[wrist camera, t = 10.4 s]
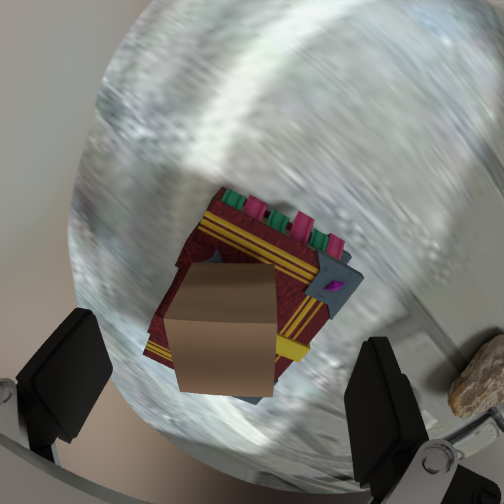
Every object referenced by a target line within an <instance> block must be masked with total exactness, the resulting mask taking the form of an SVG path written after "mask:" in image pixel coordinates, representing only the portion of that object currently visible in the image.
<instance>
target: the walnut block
mask: <svg viewBox="0 0 504 504" xmlns="http://www.w3.org/2000/svg"><path fill="white" fill-rule="evenodd" d="M163 320H164V325H165V330H166V335H167V339H168V344H169V348H170V353H171V357H172V361H173V365H174V370H175V374H176V378H177V382H178V385H179V389H180V392H189V393H199V394H210V395H223V396H242V397H273V388H274V373H275V357H276V340H277V304H276V283H275V264H247V263H192V265H191V267H190V268H189V270H188V272H187V274H186V276H185V278H184V280H183V282H182V284H181V285H180V287H179V289H178V291H177V293H176V295H175V297H174V299H173V301H172V303H171V305H170V307H169V309H168V310H167V312H166V314H165V316H164V318H163Z"/></svg>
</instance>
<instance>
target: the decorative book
mask: <svg viewBox="0 0 504 504" xmlns="http://www.w3.org/2000/svg"><path fill="white" fill-rule="evenodd" d="M266 208H267V203H265V202H263V201H261V200H259V199H258V198H256V197H254V196H252V195H250V196H249V199H248V200H247V199H246V197H244V196H242V195H240V194H238V193H236V192H234V191H232V190H230V189H225V188H224V187H221V189H220V190H219V191H218V192H217V193H216V194H215V196H214V197H213V198H212V200H211V202H210V204H209V206H208V208H207V210H206V212H205V214H204V216H203V218H202V220H201V221H200V222H199V224H198V225H197V226H196V228H195V229H194V230H193V232H192V233H191V234H190V236H189V237H188V239H187V240H186V242H185V244H184V247H183V249H182V251H181V253H180V255H179V258H178V260H177V262H176V264H175V266H176V267H178V268H179V269H178V271H177V274H176V276H175V278H174V280H173V283H172V285H171V286H170V288H169V290H168V291H167V293H166V295H165V297H164V298H163V300H162V302H161V303H160V305H159V307H158V309H157V310H156V312H155V314H154V316H153V319H152V321H151V324H150V326H149V329H148V331H147V333H149V334H150V337H149V339H148V342H147V344H146V347H145V349H144V352H143V355H145V356H147V357H149V358H151V359H153V360H155V361H157V362H159V363H161V364H163V365H165V366H167V367H169V368H172V369H174V365H173V361H172V357H171V353H170V348H169V344H168V339H167V335H166V330H165V325H164V320H163V318H164V316H165V314H166V312H167V310H168V309H169V307H170V305H171V303H172V301H173V299H174V297H175V295H176V293H177V291H178V289H179V287H180V285H181V284H182V282H183V280H184V278H185V276H186V274H187V272H188V270H189V268H190V267H191V265H192V263H247V264H275V283H276V304H277V340H276V357H275V373H274V385H275V384H276V383H277V382H278V378H279V377H280V375H281V374H282V373H283V372H284V371H285V370H286V369H287V368H288V367H289V365H290V364H291V363H292V362H293V361H296V362H300V361H301V359H302V358H303V357H304V356H305V355H306V354H307V353H308V352H309V350H310V343H309V342H310V341H311V340H312V339H313V338H314V336H315V335H316V334H317V333H318V332H319V330H320V329H321V328H322V327H323V326H324V324H325V323H326V322H327V321H328V319H329V318H330V319H331V320H332V319H333V318H334V316H335V315H336V314H337V313H338V311H339V310H340V309H341V308H342V306H343V305H344V304H345V303H346V301H347V300H348V299H349V298H350V296H351V295H352V294H353V292H354V291H355V290H356V289H357V287H358V286H359V285H360V283H361V282H362V281H363V279H364V277H363V275H362V273H360V272H358V271H357V270H355V269H353V268H351V267H350V266H348V265H347V263H348V262H349V261H350V259H351V258H352V256H351V255H350V253H348V252H346V251H344V250H343V247H344V243H345V241H344V240H342V239H340V238H338V237H337V236H335V235H333V234H332V233H331V235H330V238H329V237H328V236H326V235H325V234H323V233H321V232H319V231H318V230H316V229H313V232H311V228H312V226H313V223H314V221H315V220H314V219H313V218H311V217H309V216H307V215H306V214H304V213H302V212H300V211H298V213H297V216H296V218H295V220H294V223H293V224H291V223H290V222H288V221H289V219H290V218H288V217H286V216H284V215H283V214H281V213H279V212H277V211H275V210H273V209H272V211H271V212H269V211H267V210H266ZM328 239H329V241H328ZM232 397H235V398H238V399H240V400H243V401H246V402H248V403H251V404H254V405H257V403H258V402H259V401H260V400H261V399H262V398H263V397H242V396H232Z"/></svg>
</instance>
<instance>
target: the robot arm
mask: <svg viewBox="0 0 504 504" xmlns="http://www.w3.org/2000/svg"><path fill="white" fill-rule="evenodd" d="M112 371H113V366H112V363H111V361H110V358H109V355H108V352H107V349H106V347H105V344H104V341H103V338H102V335H101V332H100V328H99V325H98V322H97V319H96V316H95V315H93V313H92V311H91V310H88V309H83V308H79V307H78V308H75V309H74V310H73V311H72V312H71V313H70V314H69V316H68V317H67V318H66V319H65V320H64V321H63V322H62V323H61V324H60V325H59V326H58V328H57V329H56V330H55V331H54V332H53V333H52V335H51V336H50V337H49V338H48V339H47V340H46V341H45V342H44V344H43V345H42V346H41V347H40V348H39V349H38V351H37V352H36V353H35V354H34V355H33V357H32V358H31V359H30V360H29V362H28V363H27V364H26V365H25V366H24V368H23V369H22V370H21V371H20V372H19V374H18V375H17V376H16V379H17V381H18V383H17V385H16V384H15V383H14V381H12V380H11V379H8V378H1V379H0V504H155V503H151V502H148V501H144V500H141V499H138V498H135V497H132V496H129V495H126V494H123V493H120V492H117V491H115V490H112V489H109V488H107V487H104V486H102V485H99V484H96V483H94V482H92V481H89V480H87V479H85V478H83V477H80V476H78V475H76V474H74V473H72V472H70V471H68V470H66V469H64V468H62V467H61V464H60V460H59V456H58V452H57V447H56V443H55V440H56V438H57V437H58V438H59V439H61V440H63V441H65V442H67V443H69V444H70V443H71V441H72V439H73V438H76V437H77V435H78V433H79V432H80V430H81V428H82V426H83V424H84V422H85V421H86V419H87V417H88V415H89V413H90V411H91V409H92V408H93V406H94V404H95V402H96V401H97V399H98V397H99V395H100V394H101V392H102V390H103V388H104V386H105V385H106V383H107V381H108V380H109V378H110V376H111V374H112ZM344 404H345V410H346V417H347V423H348V431H349V438H350V445H351V453H352V462H353V470H354V479H355V481H356V482H360V489H362V488H370V489H371V496H373V497H372V498H371V499H370V501H369V502H368V503H367V504H504V503H501V502H500V501H501V492H500V489H499V487H498V485H497V484H496V483H494V482H493V481H491V480H489V479H487V478H485V477H483V476H480V475H479V474H477V473H475V472H472V471H471V470H469V469H467V468H465V467H463V466H461V465H459V464H458V454H457V451H456V449H455V448H454V447H453V446H452V444H450V443H449V442H447V441H445V440H442V439H432V440H429V437H428V434H427V431H426V428H425V425H424V422H423V419H422V416H421V413H420V410H419V407H418V404H417V401H416V399H415V396H414V393H413V390H412V388H411V385H410V382H409V380H408V378H407V376H406V375H405V374H402V373H401V370H400V368H399V365H398V363H397V360H396V357H395V355H394V352H393V350H392V347H391V345H390V342H389V340H388V338H387V337H370V338H369V339H368V341H364V342H363V344H362V347H361V350H360V353H359V356H358V358H357V361H356V364H355V367H354V370H353V372H352V375H351V378H350V380H349V383H348V386H347V388H346V391H345V394H344Z"/></svg>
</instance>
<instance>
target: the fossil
mask: <svg viewBox="0 0 504 504" xmlns="http://www.w3.org/2000/svg"><path fill="white" fill-rule="evenodd" d="M503 393H504V335H498V336H495V337H494V338H493V339H492V340H490V341H489V342H487V343H485V344H483V345H482V346H481V347H480V349H479V350H478V352H477V353H476V354H475V355H474V357H473V359H472V361H471V362H470V363H469V365H468V366H467V368H466V369H465V370H464V371H463V372H462V373H461V374H460V375H459V376H458V377H457V379H456V380H454V381H453V382H452V383H451V386H450V390H449V393H448V405H449V406H450V407H451V409H452V412H453V413H454V415H455V416H458V417H460V418H462V419H463V418H467V417H470V416H471V415H473V414H477V413H481V412H484V411H486V410H487V409H489V408H490V407H491V406H494V407H496V406H497V405H498V404H499V403H503V402H504V394H503Z"/></svg>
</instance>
